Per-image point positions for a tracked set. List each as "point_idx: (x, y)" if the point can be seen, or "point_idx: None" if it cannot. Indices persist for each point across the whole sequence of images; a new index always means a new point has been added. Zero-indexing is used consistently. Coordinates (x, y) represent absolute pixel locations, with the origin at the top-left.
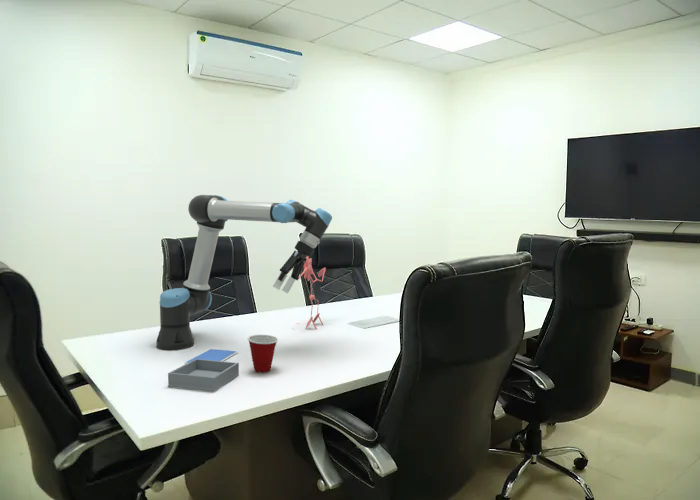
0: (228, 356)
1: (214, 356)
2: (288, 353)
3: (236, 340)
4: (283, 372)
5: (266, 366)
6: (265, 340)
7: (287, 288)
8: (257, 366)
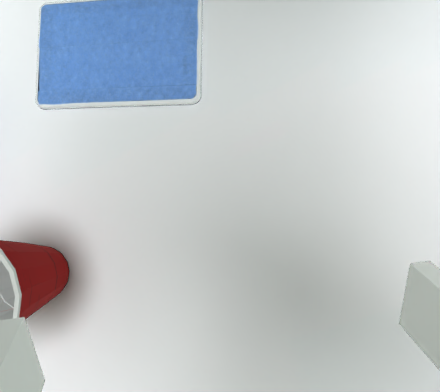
0: (132, 101)
1: (118, 57)
2: (249, 287)
3: (368, 3)
4: (43, 345)
5: (14, 298)
6: (22, 282)
7: (435, 338)
8: (5, 270)
